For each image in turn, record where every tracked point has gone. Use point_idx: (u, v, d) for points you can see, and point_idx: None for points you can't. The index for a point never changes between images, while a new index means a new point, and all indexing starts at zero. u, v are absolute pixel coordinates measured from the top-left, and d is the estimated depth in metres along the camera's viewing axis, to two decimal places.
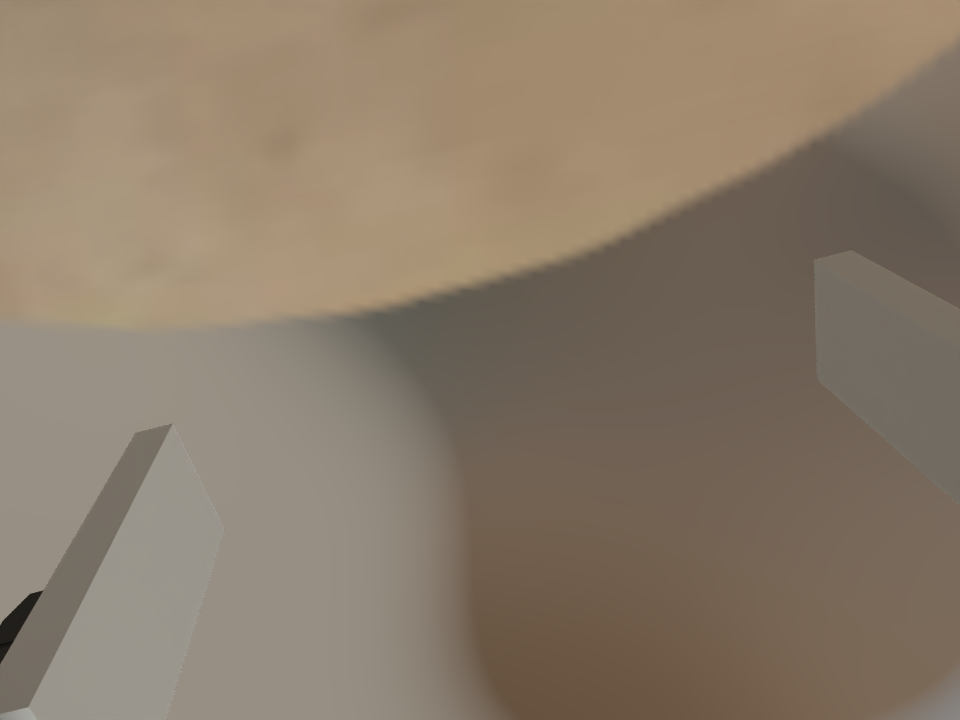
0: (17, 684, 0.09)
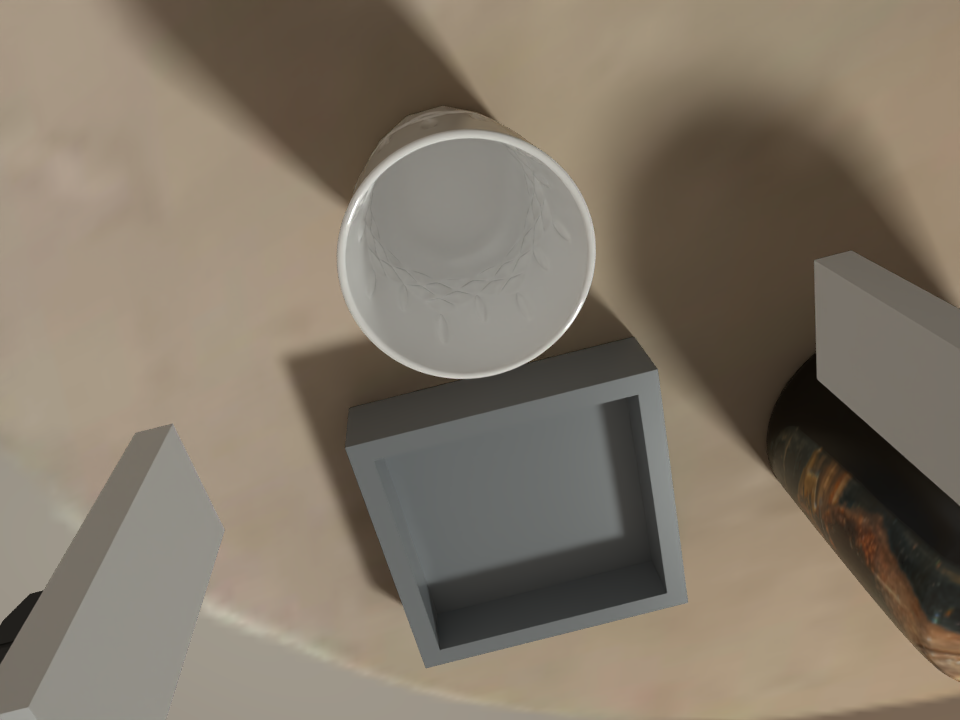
0: (17, 684, 0.09)
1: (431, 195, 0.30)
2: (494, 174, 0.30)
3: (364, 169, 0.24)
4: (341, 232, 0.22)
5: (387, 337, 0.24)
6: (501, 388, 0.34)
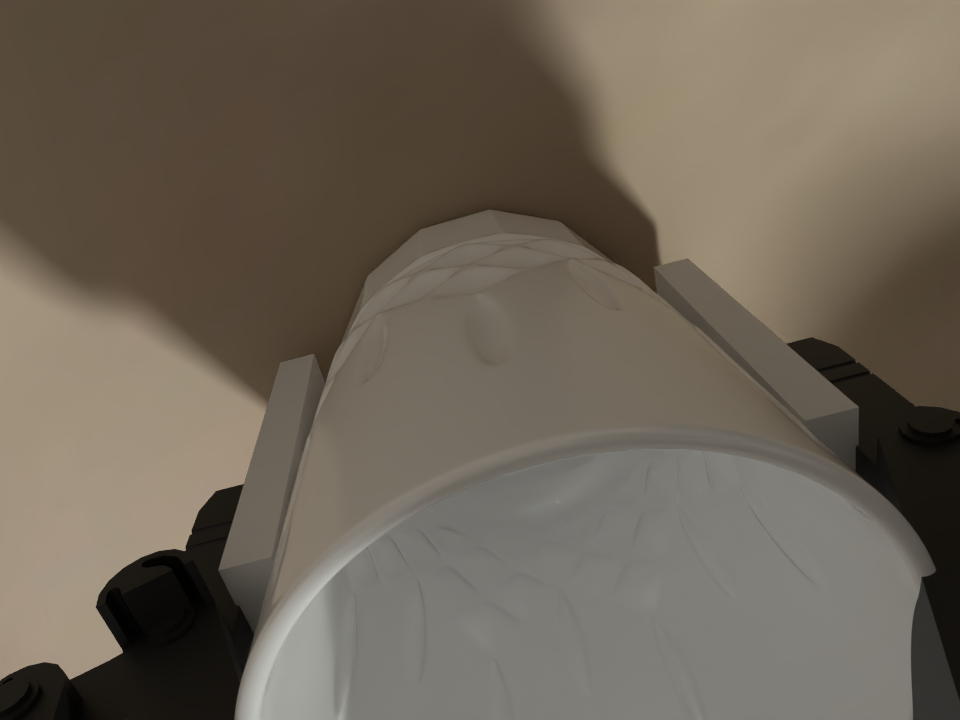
0: (253, 542, 0.11)
1: None
2: None
3: (324, 421, 0.10)
4: (242, 699, 0.07)
5: None
6: None
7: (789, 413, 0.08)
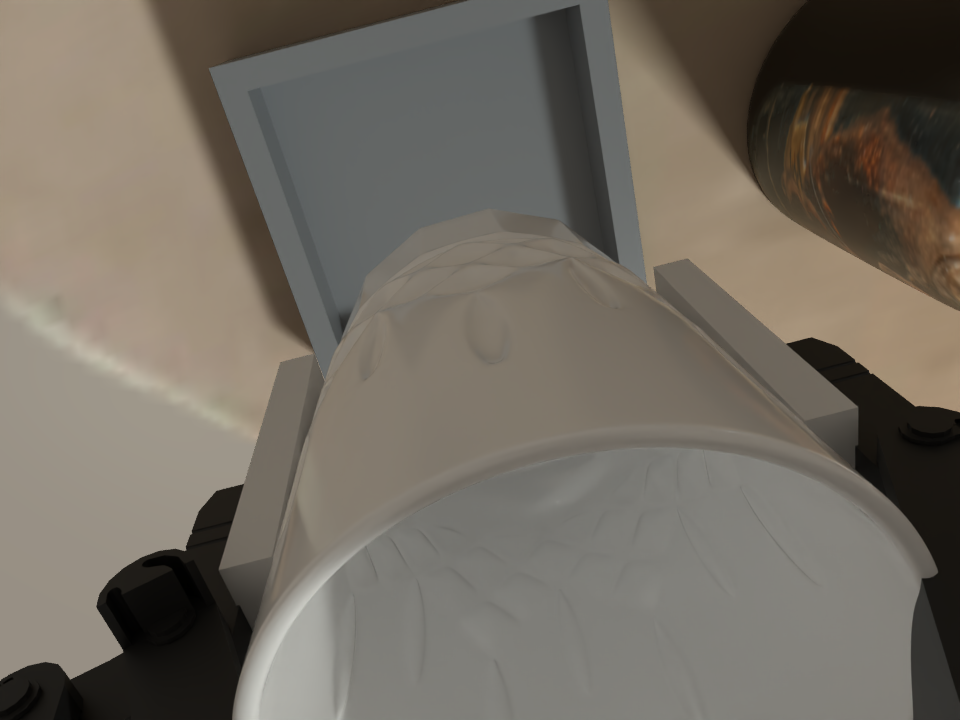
0: (253, 542, 0.11)
1: None
2: None
3: (323, 420, 0.10)
4: (240, 699, 0.07)
5: None
6: (411, 14, 0.27)
7: (789, 411, 0.08)
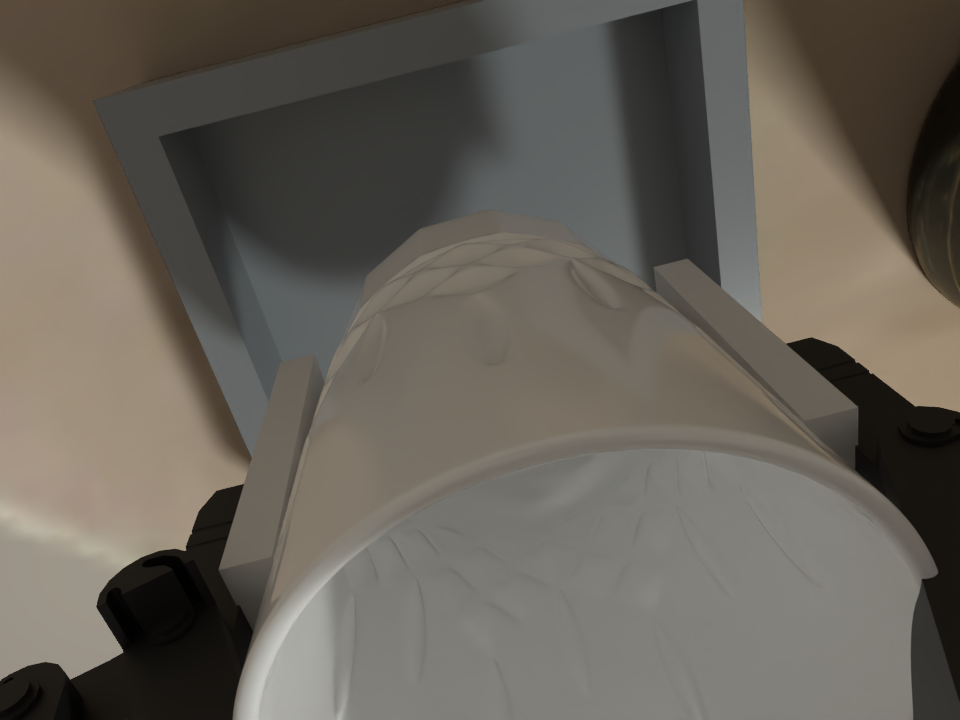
0: (254, 542, 0.11)
1: None
2: None
3: (323, 421, 0.10)
4: (240, 701, 0.07)
5: None
6: (423, 13, 0.17)
7: (790, 412, 0.08)
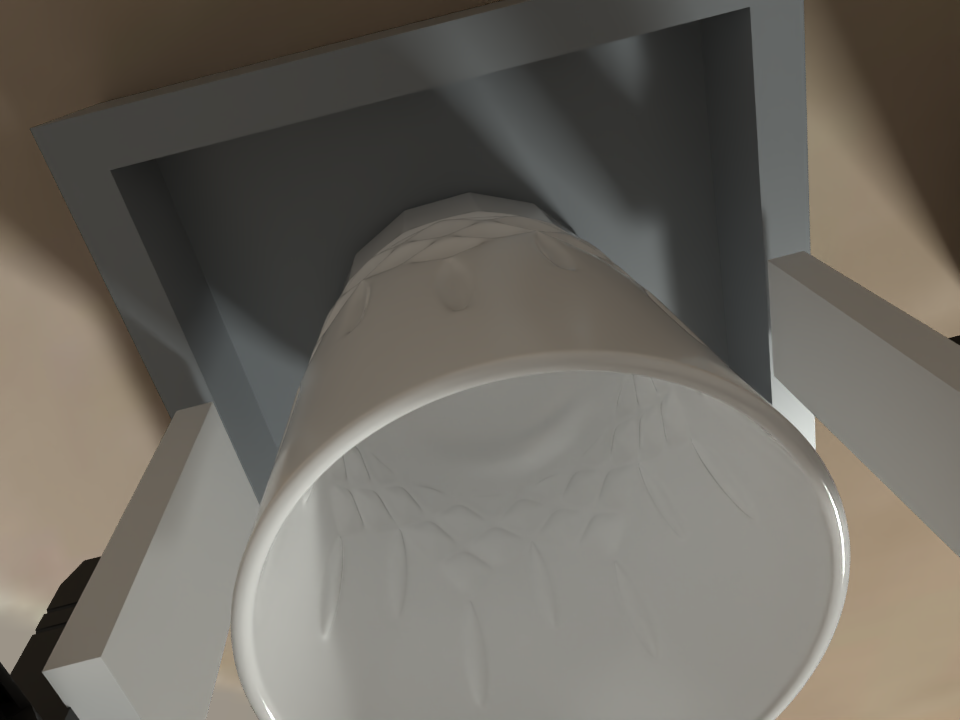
0: (88, 637, 0.10)
1: None
2: None
3: (312, 370, 0.11)
4: (238, 591, 0.09)
5: None
6: (424, 23, 0.15)
7: (714, 354, 0.10)
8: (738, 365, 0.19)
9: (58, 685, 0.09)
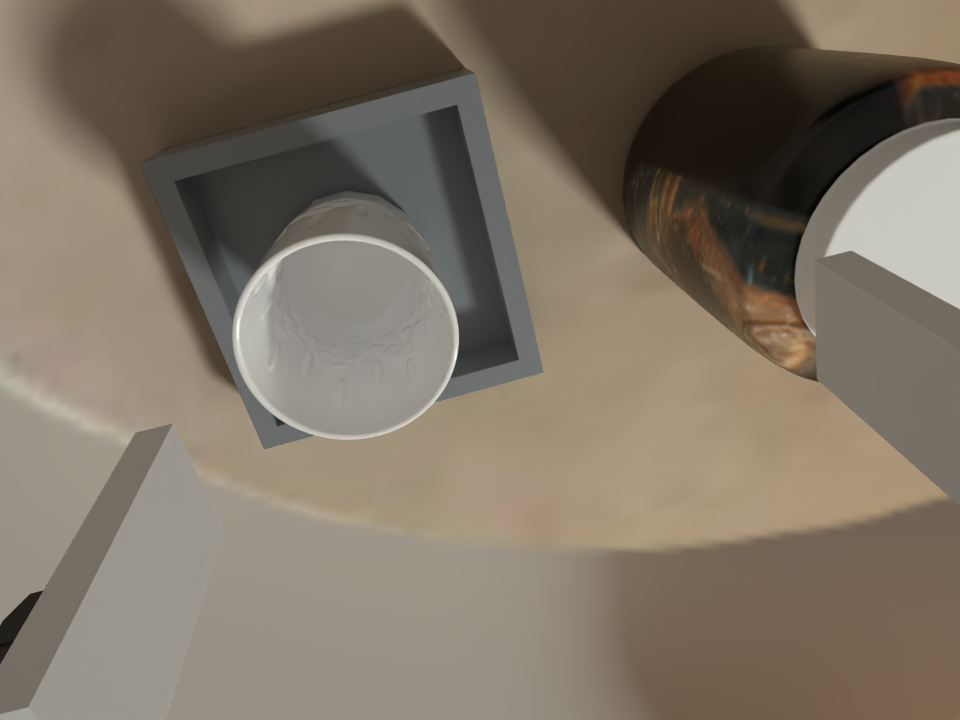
0: (17, 684, 0.09)
1: (337, 269, 0.34)
2: (392, 250, 0.34)
3: None
4: (234, 320, 0.25)
5: (283, 405, 0.28)
6: (316, 111, 0.32)
7: (406, 242, 0.27)
8: (496, 280, 0.36)
9: None
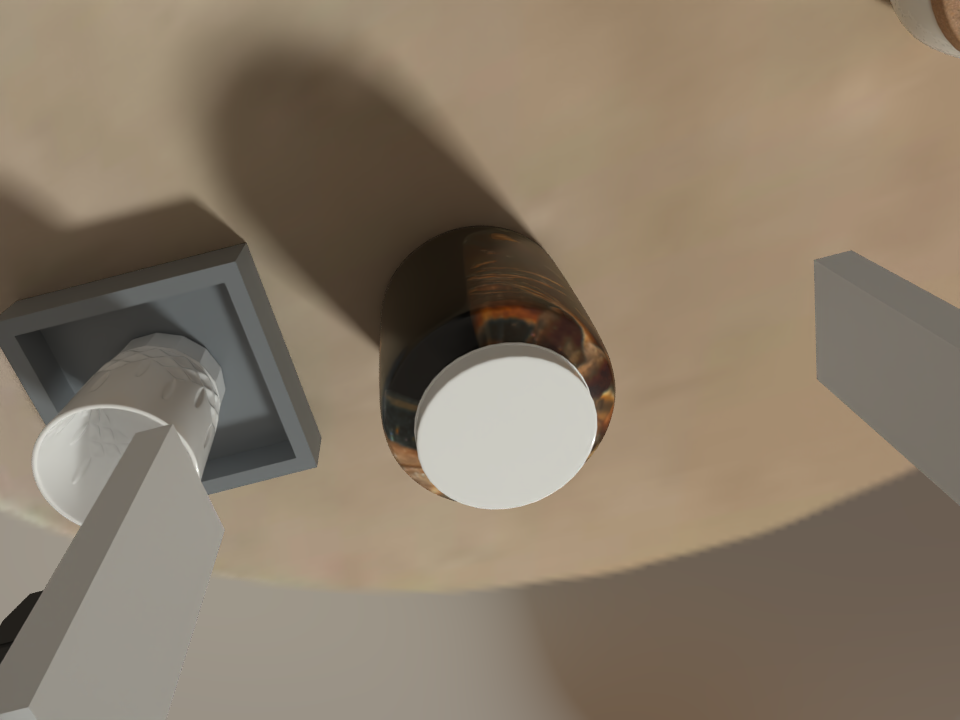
0: (17, 684, 0.09)
1: None
2: None
3: None
4: (32, 459, 0.36)
5: (78, 511, 0.39)
6: (125, 281, 0.42)
7: (160, 401, 0.37)
8: None
9: None
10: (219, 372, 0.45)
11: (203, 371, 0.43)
